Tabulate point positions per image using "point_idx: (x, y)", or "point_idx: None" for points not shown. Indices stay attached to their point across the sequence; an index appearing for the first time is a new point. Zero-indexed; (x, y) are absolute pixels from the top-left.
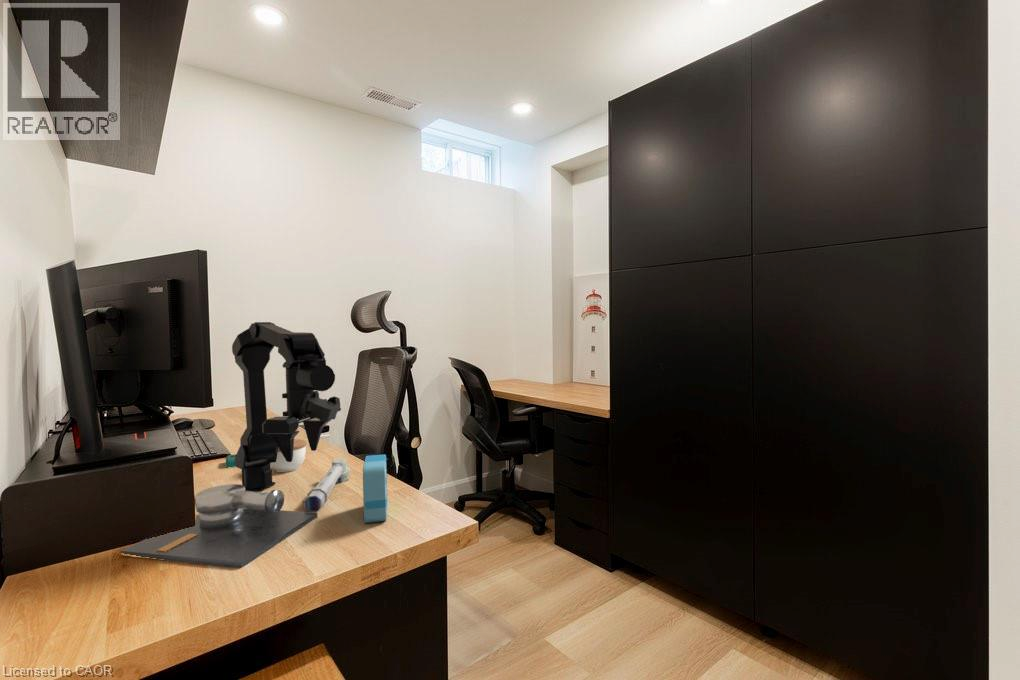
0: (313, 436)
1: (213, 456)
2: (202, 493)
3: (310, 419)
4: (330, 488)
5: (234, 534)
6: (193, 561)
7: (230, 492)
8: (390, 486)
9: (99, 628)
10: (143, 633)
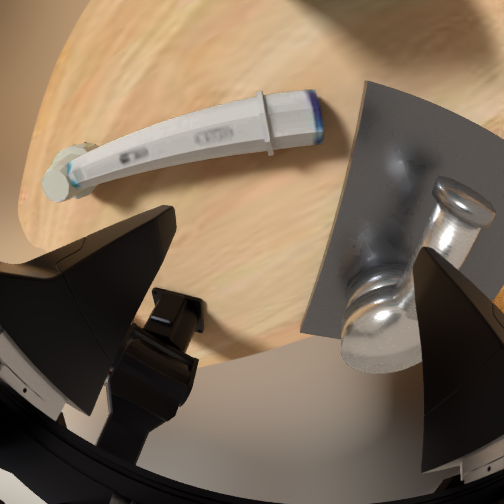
0: (121, 276)
1: (110, 374)
2: (394, 366)
3: (49, 396)
4: (196, 111)
5: None
6: None
7: (411, 328)
8: (108, 3)
9: None
10: None
